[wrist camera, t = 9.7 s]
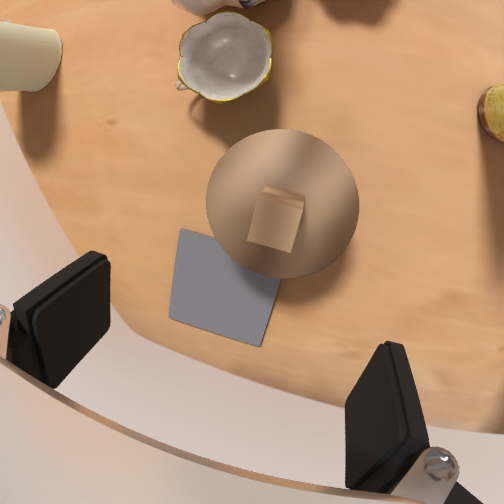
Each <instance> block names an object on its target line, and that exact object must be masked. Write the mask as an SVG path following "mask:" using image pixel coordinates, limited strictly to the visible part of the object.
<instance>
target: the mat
mask: <svg viewBox="0 0 504 504" xmlns="http://www.w3.org/2000/svg"><path fill="white" fill-rule="evenodd" d="M280 282H281V278H272V277H268V276H263V275H260V274H257V273H255V272H252V271H250V270H248V269H246V268H245V267H243V266H241V265H240V264H238V263H237V262H236V261H235V260H233V259H232V258H231V257H230V256H229V255H228V254H227V253H226V252H225V251H224V250H223V248H222V247H221V246H220V244H219V243H218V241H217V240H216V238H214V237H210V236H207V235H203V234H200V233H196V232H193V231H189V230H186V229H181V230H180V233H179V240H178V246H177V253H176V260H175V268H174V275H173V283H172V291H171V299H170V307H169V316H168V318H171V319H174V320H177V321H180V322H183V323H186V324H189V325H192V326H195V327H198V328H201V329H204V330H207V331H210V332H213V333H216V334H219V335H222V336H226V337H229V338H232V339H235V340H239V341H242V342H245V343H249V344H252V345H255V346H259V347H260V344H261V341H262V338H263V335H264V332H265V329H266V325H267V322H268V319H269V316H270V313H271V310H272V307H273V304H274V301H275V297H276V294H277V291H278V288H279V285H280Z"/></svg>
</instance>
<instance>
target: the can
mask: <svg viewBox="0 0 504 504" xmlns="http://www.w3.org/2000/svg"><path fill="white" fill-rule="evenodd" d="M61 56H62V41H61V38H60V36H59V34H58V33H57V32H56V31H55V30H52V29H42V28H36V27H30V26H24V25H18V24H12V23H6V22H0V91H30V92H36V91H39V90H41V89H43V88H44V87H45V86H46V85H47V84H48V83H49V82H50V81H51V80H52V78H53V77H54V75H55V73H56V71H57V69H58V67H59V64H60V61H61Z"/></svg>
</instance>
